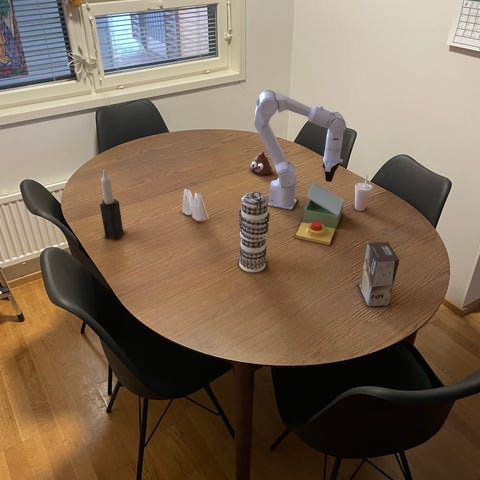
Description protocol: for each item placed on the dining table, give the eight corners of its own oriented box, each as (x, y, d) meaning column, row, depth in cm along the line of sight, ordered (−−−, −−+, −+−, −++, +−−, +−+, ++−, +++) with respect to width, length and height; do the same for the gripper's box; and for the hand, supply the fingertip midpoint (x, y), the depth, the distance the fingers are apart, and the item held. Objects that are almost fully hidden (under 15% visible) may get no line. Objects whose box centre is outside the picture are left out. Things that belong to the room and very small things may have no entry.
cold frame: (302, 222, 169) (303, 209, 166) (309, 207, 178) (310, 195, 175) (336, 229, 166) (338, 216, 163) (341, 213, 175) (343, 201, 172)
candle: (124, 232, 162) (115, 167, 148) (116, 240, 158) (106, 174, 144) (112, 229, 163) (101, 165, 150) (104, 237, 159) (92, 171, 145)
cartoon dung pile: (275, 170, 204) (276, 150, 199) (265, 177, 198) (266, 157, 193) (255, 165, 208) (256, 145, 203) (245, 172, 202) (246, 152, 197)
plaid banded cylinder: (257, 276, 142) (261, 207, 129) (232, 266, 146) (233, 198, 133) (272, 261, 149) (276, 193, 135) (247, 252, 153) (249, 185, 139)
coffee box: (389, 305, 132) (400, 261, 124) (367, 306, 132) (377, 261, 123) (378, 284, 140) (388, 241, 131) (358, 285, 140) (366, 242, 131)
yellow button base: (295, 237, 161) (296, 230, 159) (301, 224, 168) (302, 217, 166) (329, 245, 157) (330, 238, 155) (334, 231, 164) (335, 224, 163)
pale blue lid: (305, 197, 163) (306, 195, 163) (313, 183, 172) (313, 181, 172) (337, 216, 163) (338, 215, 162) (343, 201, 172) (344, 200, 171)
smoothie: (368, 213, 175) (374, 180, 167) (351, 211, 176) (356, 178, 168) (367, 205, 180) (374, 172, 172) (351, 203, 181) (356, 171, 173)
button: (309, 230, 160) (310, 225, 159) (312, 224, 163) (312, 220, 162) (320, 232, 159) (320, 227, 158) (322, 226, 162) (322, 222, 161)
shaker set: (209, 221, 168) (208, 195, 162) (200, 225, 166) (199, 199, 160) (190, 208, 176) (189, 182, 170) (181, 212, 174) (179, 186, 168)
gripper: (340, 157, 160) (335, 191, 167) (347, 141, 172) (342, 174, 179) (320, 153, 162) (316, 187, 169) (328, 138, 174) (324, 171, 181)
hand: (328, 180), depth 174 cm, fingers closed
